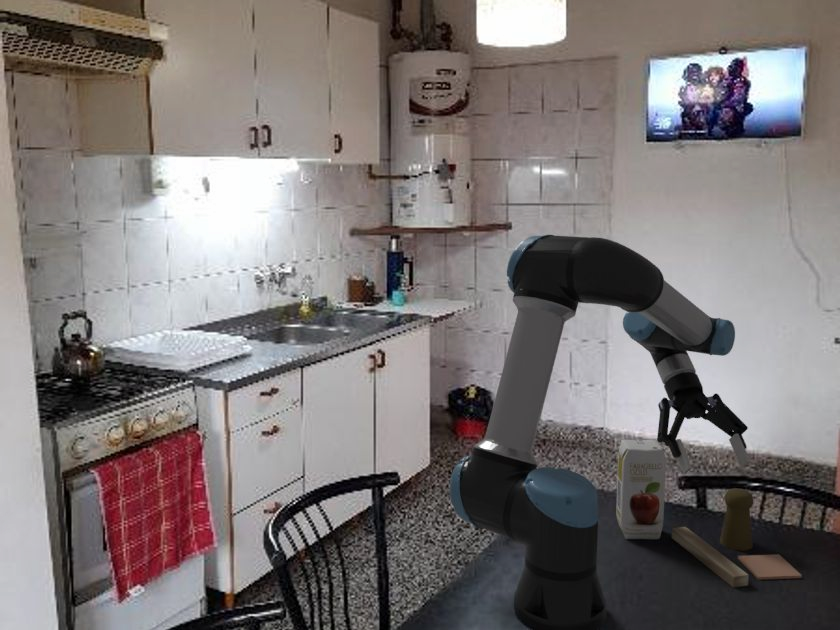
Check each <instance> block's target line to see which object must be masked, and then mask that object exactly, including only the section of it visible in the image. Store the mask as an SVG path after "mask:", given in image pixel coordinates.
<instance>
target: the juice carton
mask: <svg viewBox="0 0 840 630" xmlns="http://www.w3.org/2000/svg"><path fill="white" fill-rule="evenodd" d="M617 458H618V459H617V482H616V483H617V485H616V487H617V488H616V510H615V511H616V513H615V514H616V515H615V516H616V520H617V523H618V526H619V528H620V531H621V532H622V535H623V538H625V540H660V538H661V534H662V531H663V527H664V516H665V515H664V514H665V496H666V495H665V493H666V489H665V487H666V473H667V472H666V470H667V469H666V465H667V464H666V463H667V460H666V453H665V449H664V447H662V446H661V444H660V442H658V441H657V439H643V440H635V439H624V438H623V439H621V441H620V446H619V449H618V457H617Z"/></svg>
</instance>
